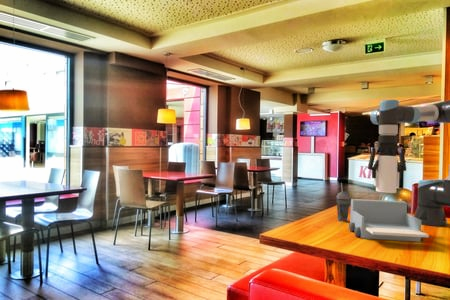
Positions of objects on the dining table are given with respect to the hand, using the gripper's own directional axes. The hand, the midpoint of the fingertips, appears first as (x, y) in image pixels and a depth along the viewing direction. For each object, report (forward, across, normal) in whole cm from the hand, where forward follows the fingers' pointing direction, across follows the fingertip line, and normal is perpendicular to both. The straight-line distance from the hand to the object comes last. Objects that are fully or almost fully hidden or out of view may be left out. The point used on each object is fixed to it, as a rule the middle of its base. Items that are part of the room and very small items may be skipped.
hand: (386, 186), depth 146 cm
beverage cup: (+22, +12, -26) cm, 36 cm away
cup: (+3, 0, 0) cm, 3 cm away
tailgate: (+17, 0, +8) cm, 19 cm away
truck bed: (+22, 0, -2) cm, 22 cm away
